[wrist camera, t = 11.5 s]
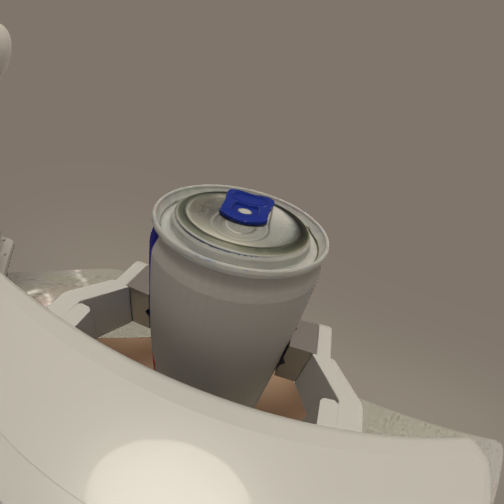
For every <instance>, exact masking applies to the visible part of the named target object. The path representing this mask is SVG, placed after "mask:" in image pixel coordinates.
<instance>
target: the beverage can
mask: <svg viewBox="0 0 504 504" xmlns="http://www.w3.org/2000/svg"><path fill="white" fill-rule="evenodd" d="M152 222H153V226H154V227H153V229H152V232H151V236H150V250H149V254H150V255H149V300H150V327H151V344H152V358H153V369H154V370H155V371H157V372H159V373H161V374H163V375H166V376H168V377H170V378H172V379H175V380H177V381H179V382H182V383H184V384H187V385H189V386H191V387H194V388H197V389H199V390H202V391H204V392H207V393H210V394H212V395H215V396H218V397H221V398H223V399H226V400H229V401H232V402H235V403H238V404H241V405H244V406H248V407H251V408H255V406H256V404H257V402H258V401H259V399H260V397H261V395H262V393H263V392H264V390H265V388H266V386H267V384H268V382H269V380H270V378H271V377H272V375H273V373H274V371H275V369H276V367H277V365H278V363H279V361H280V359H281V357H282V355H283V353H284V351H285V349H286V347H287V345H288V343H289V341H290V339H291V337H292V335H293V333H294V331H295V329H296V327H297V325H298V323H299V321H300V318H301V316H302V314H303V312H304V310H305V308H306V306H307V303H308V301H309V299H310V296H311V294H312V292H313V290H314V287H315V286H316V283H317V281H318V279H319V275H320V270H321V264H322V263H323V262H324V260H325V259H326V257H327V255H328V251H329V240H328V237H327V235H326V233H325V231H324V230H323V228H322V227H321V226H320V225H319V223H318V222H317V221H315V220H314V219H313V218H312V217H311V216H310V215H308V214H307V213H305V212H304V211H302V210H301V209H299V208H298V207H296V206H294V205H292V204H290V203H288V202H286V201H284V200H282V199H279V198H277V197H274V196H271V195H269V194H265V193H262V192H258V191H255V190H250V189H246V188H241V187H235V186H227V185H194V186H188V187H183V188H180V189H176V190H174V191H171V192H169V193H167V194H165V195H164V196H163V197H161V198H160V199H159V200H158V201H157V203H156V204H155V206H154V208H153V212H152Z"/></svg>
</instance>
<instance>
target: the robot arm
mask: <svg viewBox="0 0 504 504" xmlns="http://www.w3.org/2000/svg"><path fill="white" fill-rule="evenodd" d="M11 48H12V45H11V38H10V35H9V32H8V31H7V29H6V28H5V27H4V26H3V25H2V24H0V80H1V78H2V76H3V75H4V73H5V71H6V69H7V66H8V64H9V60H10V56H11ZM14 246H15V245H14V242H13V240H11V239H9V238H6V237H1V233H0V504H491V474H490V466H489V462H488V459H487V458H486V456H485V454H484V453H483V451H482V450H481V448H480V447H479V445H478V444H477V443H476V442H475V441H474V439H472V438H470V437H440V438H438V437H406V436H393V435H382V434H373V433H365V432H362V404H361V402H360V400H359V399H358V397H357V396H356V394H355V392H354V391H353V389H352V387H351V386H350V384H349V383H348V381H347V379H346V378H345V376H344V375H343V373H342V372H341V370H340V368H339V367H338V365H337V364H336V362H335V360H334V359H330V358H331V331H332V330H331V327H328V326H325V325H321V324H316V323H313V322H309V321H306V320H303V319H300V321H299V323H298V325H297V327H296V329H295V331H294V333H293V335H292V337H291V339H290V341H289V343H288V345H287V347H286V349H285V351H284V353H283V355H282V357H281V359H280V361H279V363H278V365H277V367H276V370H275V374H274V375H275V376H278V377H282V378H285V379H288V380H291V381H295V385H296V388H297V390H298V393H299V395H300V398H301V401H302V403H303V406H304V408H305V411H306V413H307V415H306V416H305V418H304V419H303V420H302V421H299V420H295V419H291V418H287V417H283V416H279V415H275V414H272V413H268V412H264V411H261V410H258V409H254V408H251V407H248V406H244V405H241V404H238V403H235V402H232V401H229V400H226V399H223V398H221V397H218V396H215V395H212V394H210V393H207V392H204V391H202V390H199V389H197V388H194V387H191V386H189V385H187V384H184V383H182V382H179V381H177V380H175V379H172V378H170V377H168V376H166V375H163V374H161V373H159V372H157V371H155V370H153V369H151V368H148V367H146V366H144V365H142V364H140V363H138V362H136V361H134V360H132V359H130V358H128V357H126V356H124V355H123V354H121V353H119V352H117V351H115V350H113V349H111V348H110V347H108V346H106V345H104V344H103V343H101V342H99V341H98V340H97V337H100V336H102V335H104V334H106V333H108V332H111V331H113V330H115V329H117V328H119V327H122V326H124V325H126V324H128V323H130V322H132V321H134V322H136V323H138V324H141V325H143V326H145V327H148V328H150V300H149V265H147V264H145V263H143V262H140V261H137V262H135V263H134V264H133V265H132V266H131V267H130V268H129V269H128V270H127V271H125V272H124V273H123V274H122V275H121V276H120V277H119V278H118V279H117V280H116V281H115V280H109V281H105V282H101V283H97V284H93V285H89V286H85V287H82V288H78V289H74V290H70V291H66V292H64V293H63V294H62V295H61V296H59V297H58V298H57V299H56V300H55V301H54V302H53V303H52V304H51V305H49V306H48V307H47V308H46V307H45V306H43V305H42V304H40V303H39V302H38V301H36V300H35V299H34V298H32V297H31V296H30V295H28V294H27V293H26V292H24V291H23V290H22V289H21V288H19V287H18V286H17V285H16V284H14V283H13V282H12V281H11V280H10V279H8V278H7V277H6V274H7V270H8V267H9V263H10V259H11V256H12V253H13V249H14Z"/></svg>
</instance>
